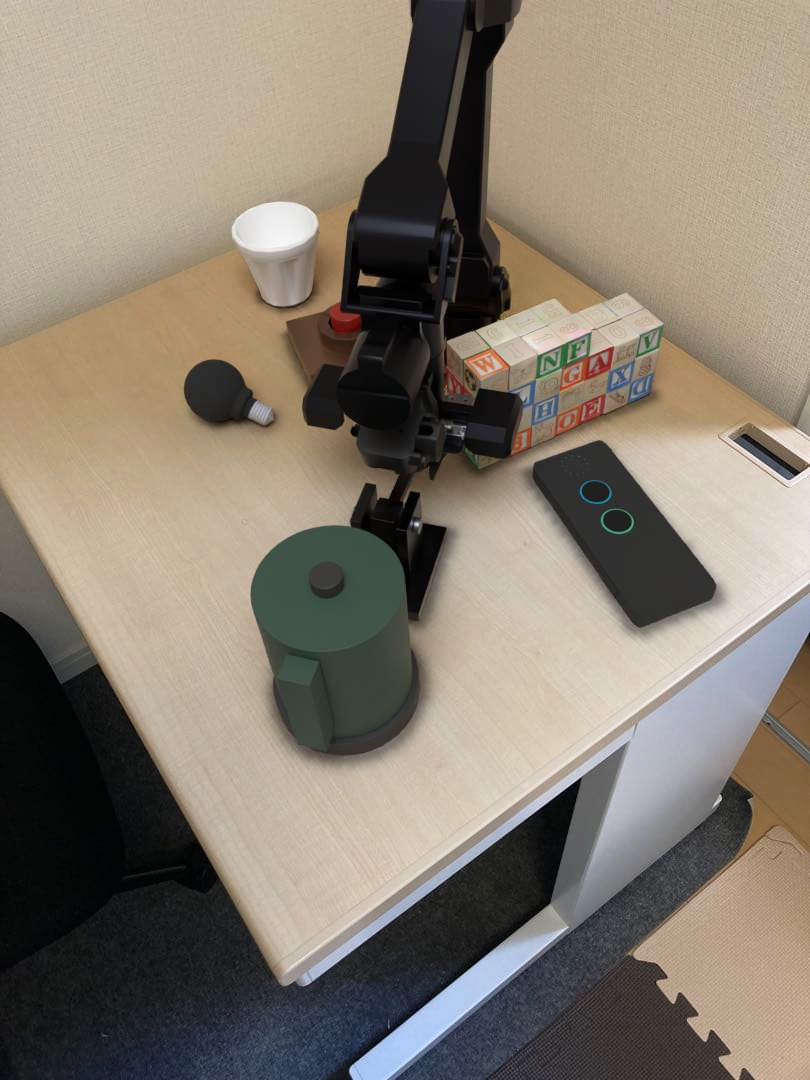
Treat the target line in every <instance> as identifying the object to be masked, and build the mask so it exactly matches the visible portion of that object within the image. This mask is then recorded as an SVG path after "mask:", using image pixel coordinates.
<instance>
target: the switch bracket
mask: <svg viewBox="0 0 810 1080" xmlns="http://www.w3.org/2000/svg"><path fill="white" fill-rule="evenodd" d="M377 487H378V486H377V484H376V483H370V482H365V483H364V484H363V487H362V490H361V492H360V495H359V497H358V499H357V501H356V504H355V505H354V507H352V511H351V516H350V518H349V525H350V527H354V528H358V529H361V530H364V531H367V532H369V533H370V516H371V514H372V512H373V510H374V508H375V505H376V503H377V501H378V499H379V497H378V488H377ZM447 538H448V526H442V525H438V524H431V523H427V522H424V521H423V506H422V493H421V492H419V491H413V490H409V492H408V495H407V496H406V501H405V503H404V508H403V511H402V513H401V516H400V519H399V521H398V524H397V527H396V541H395V543H393V542H388V541H384V542H385V543H386V544H387V545H388V546H389V547H390V548H391V549H392V550H393V551H394V552H395V554H396V555H397V557H398V559H399V560H400V562H401V565H402V567H403V571H404V576H405V586H406V598H407V611H408V620H412V621H415V622H419V621H420V620H421V617H422V614H423V610H424V608H425V605H426V601H427V598H428V596H429V593H430V589H431V586H432V583H433V580H434V577H435V574H436V571H437V568H438V565H439V562H440V559H441V555H442V554H443V553H442V552H443V550H444V546H445V544H446V541H447V540H446V539H447Z"/></svg>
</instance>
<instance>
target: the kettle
mask: <svg viewBox="0 0 810 1080" xmlns="http://www.w3.org/2000/svg"><path fill="white" fill-rule="evenodd" d="M249 595H250V604H251V608H252V612H253V615H254V618H255V621H256V624H257V628H258V630H259V634H260V637H261V640H262V643H263V647H264V649H265V653H266V655H267V656H266V657H267V659H268V662H269V666H270V668H271V671H272V675H273V676H272V677H273V678H272V692H273V697H274V701H275V704H276V707H277V710H278V714H279V716H280V718H281V720H282V723H283V724H284V726H285V727H286V729H287V730H288V731H289V733H290V734H291V735H292V736H293V737H294V738H295V741H296V744H297V745H300V746H303V747H307V748H310V749H312V750H314V751H316V752H320V753H324V754H328V755H332V756H354V755H359V754H364V753H368V752H371V751H374V750H376V749H378V748H380V747H382V746H384V745H386V744H388V743H389V742H391V741H392V740H393V739H394V738H396V737H397V736H399V734H400V733H401V732H402V731H403V730H404V729H405V727H406V726H407V725H408V724H409V722H410V721H411V719H412V717H413V716H414V714H415V711H416V709H417V707H418V702H419V698H420V689H421V688H420V687H421V686H420V673H419V665H418V661H417V657H416V655H415V653H414V650H413V649H412V647H411V639H410V636H411V635H410V624H409V619H408V611H407V598H406V586H405V576H404V571H403V567H402V565H401V562H400V560H399V559H398V557H397V555H396V554H395V552H394V551H393V550H392V549H391V548H390V547H389V546H388V545H387V544H386V543H385V542H384V541H383V540H381V539H380V538H378V537H377V536H375V535H373V534H371V533H369V532H367V531H364V530H361V529H358V528H354V527H351V526H348V525H336V524H334V525H333V524H332V525H331V524H330V525H321V526H320V525H319V526H314V527H310V528H307V529H304V530H301V531H299V532H296V533H294V534H292V535H289V536H288V537H286V538H285V539H283V540H281V541H279V542H278V543H277V544H276V545H275V546H273V548H271V549H270V550H269V551H268V552H267V554H265V556H264V557H263V559H261V560H260V562H259V564H258V566H257V568H256V570H255V572H254V575H253V577H252V581H251V585H250V594H249Z"/></svg>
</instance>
